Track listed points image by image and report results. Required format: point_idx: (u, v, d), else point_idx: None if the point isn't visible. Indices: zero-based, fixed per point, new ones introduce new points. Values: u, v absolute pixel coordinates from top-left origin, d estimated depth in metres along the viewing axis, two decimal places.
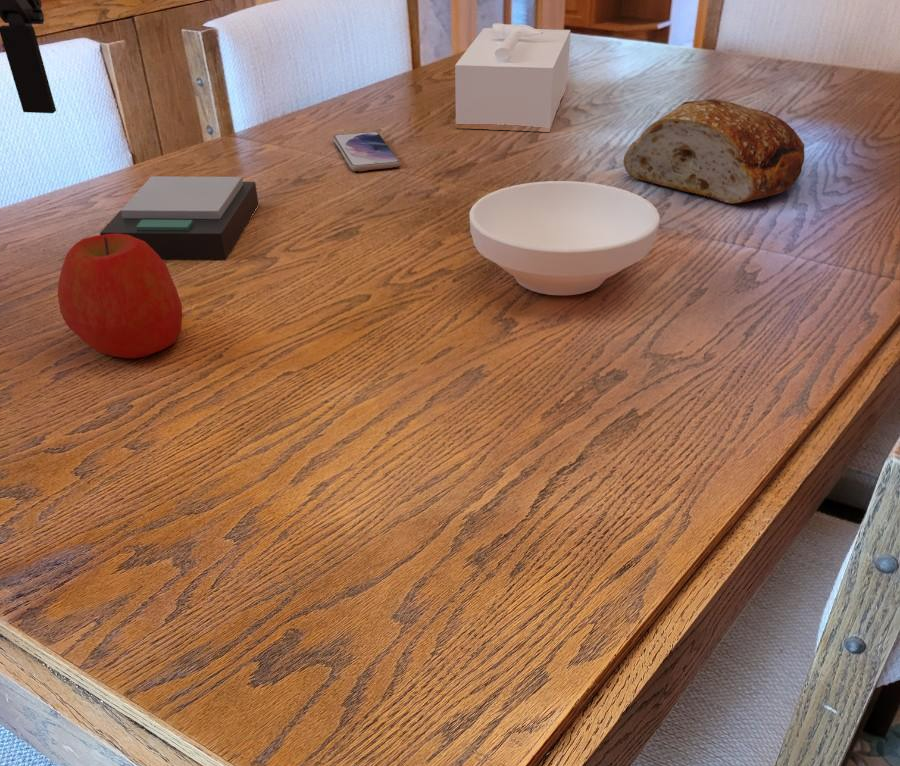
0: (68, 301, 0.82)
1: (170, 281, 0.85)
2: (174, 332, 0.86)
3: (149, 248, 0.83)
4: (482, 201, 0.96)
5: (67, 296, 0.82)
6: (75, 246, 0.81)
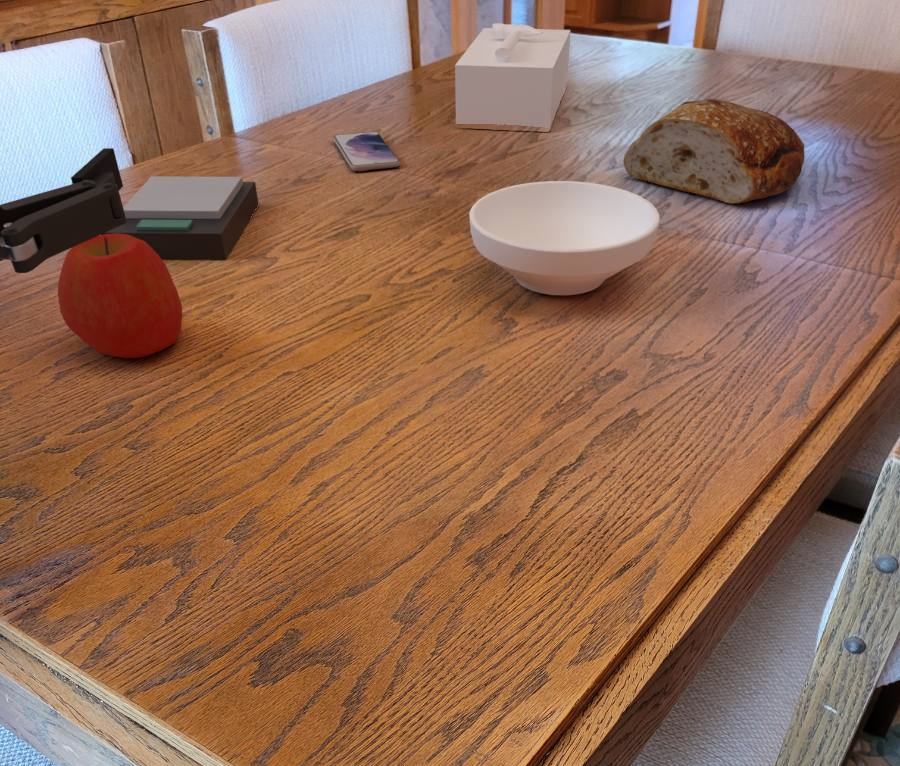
0: (68, 301, 0.82)
1: (170, 281, 0.85)
2: (174, 332, 0.86)
3: (149, 248, 0.83)
4: (482, 201, 0.96)
5: (67, 296, 0.82)
6: (75, 246, 0.81)
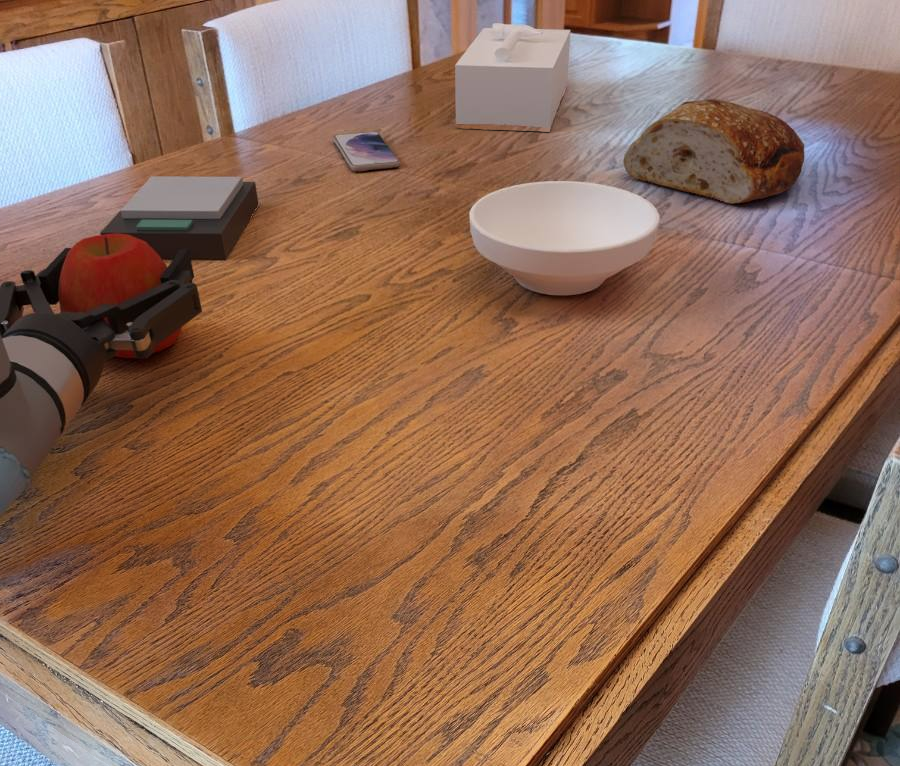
0: (68, 301, 0.82)
1: None
2: (174, 332, 0.86)
3: (149, 248, 0.83)
4: (482, 201, 0.96)
5: (67, 296, 0.82)
6: (75, 246, 0.82)
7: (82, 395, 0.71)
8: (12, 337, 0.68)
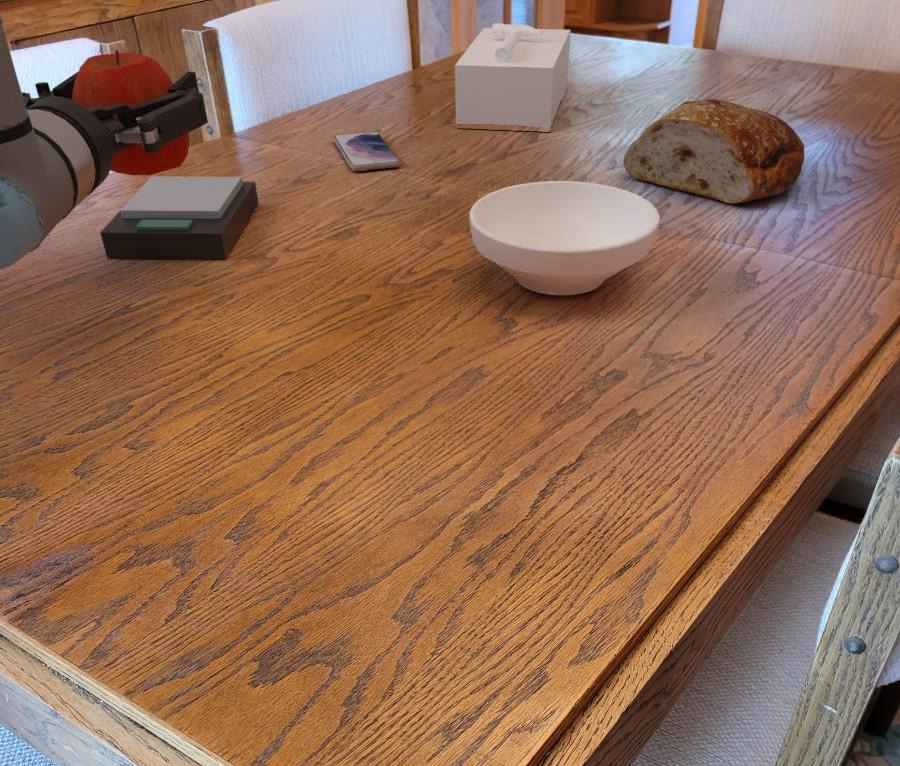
0: None
1: None
2: (181, 150, 0.90)
3: (158, 65, 0.87)
4: (482, 201, 0.96)
5: None
6: (88, 59, 0.85)
7: (93, 175, 0.75)
8: (28, 110, 0.72)
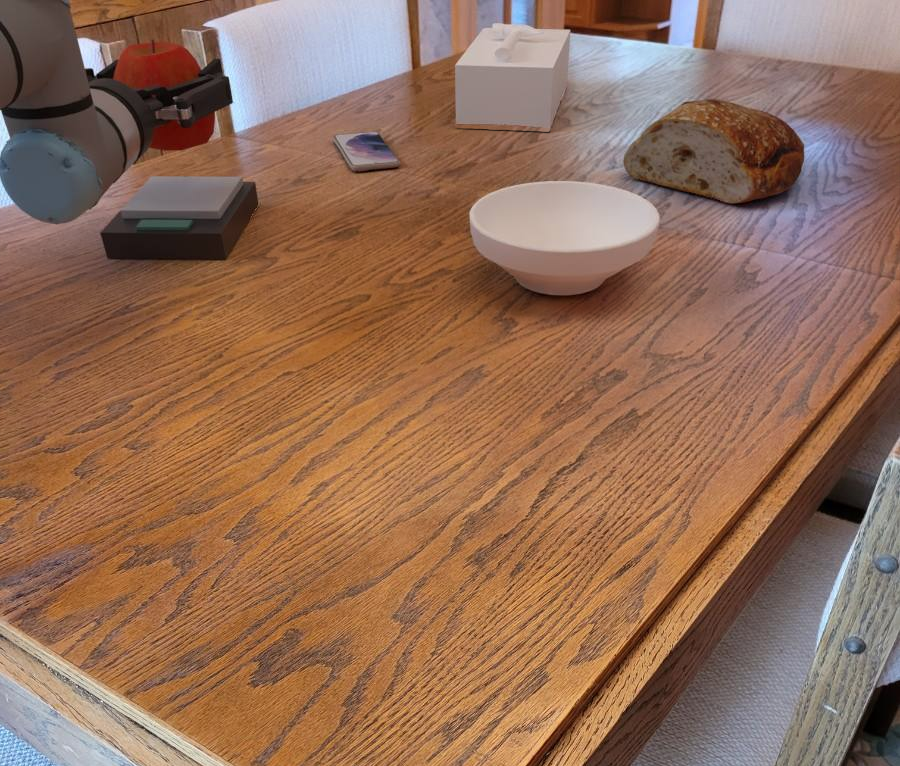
0: None
1: None
2: (208, 128, 1.02)
3: (188, 52, 0.99)
4: (482, 201, 0.96)
5: None
6: (127, 48, 0.97)
7: (139, 145, 0.87)
8: None
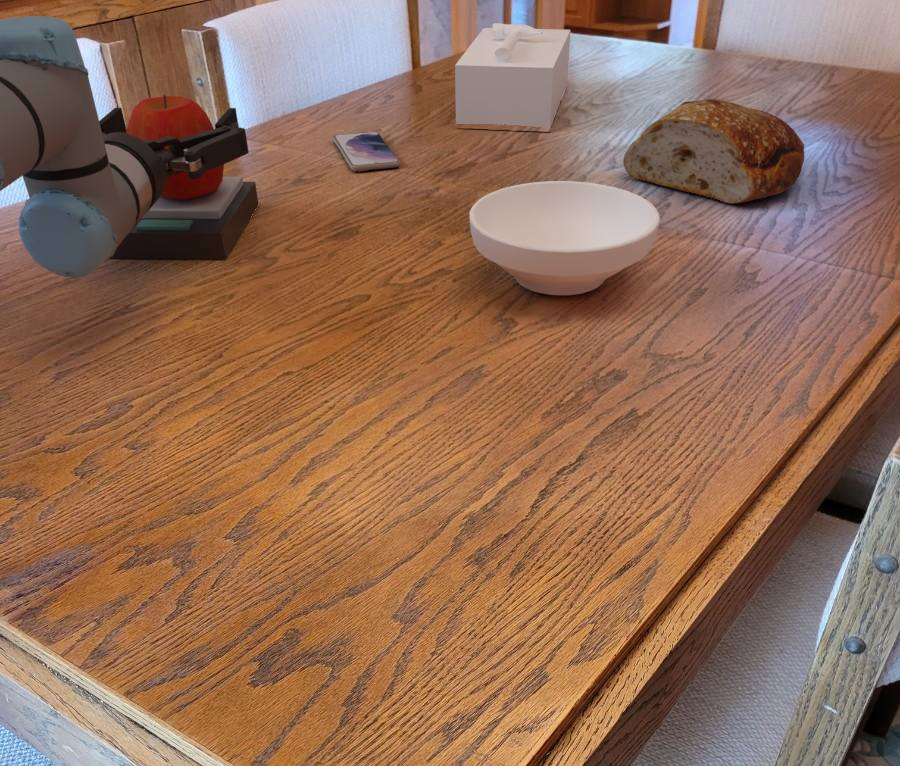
0: None
1: None
2: (217, 178, 1.05)
3: (199, 106, 1.03)
4: (482, 201, 0.96)
5: None
6: (140, 103, 1.01)
7: (151, 197, 0.90)
8: None
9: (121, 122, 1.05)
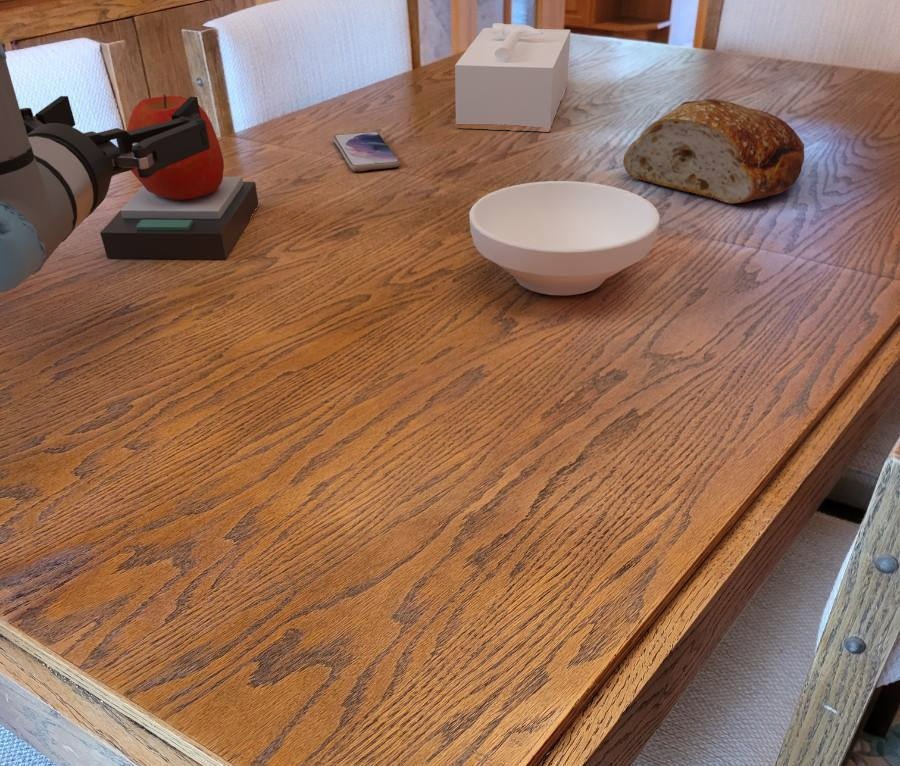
0: None
1: (215, 135, 1.04)
2: (217, 178, 1.05)
3: (199, 106, 1.03)
4: (482, 201, 0.96)
5: None
6: (140, 103, 1.01)
7: (92, 198, 0.78)
8: (29, 137, 0.75)
9: (68, 112, 0.93)
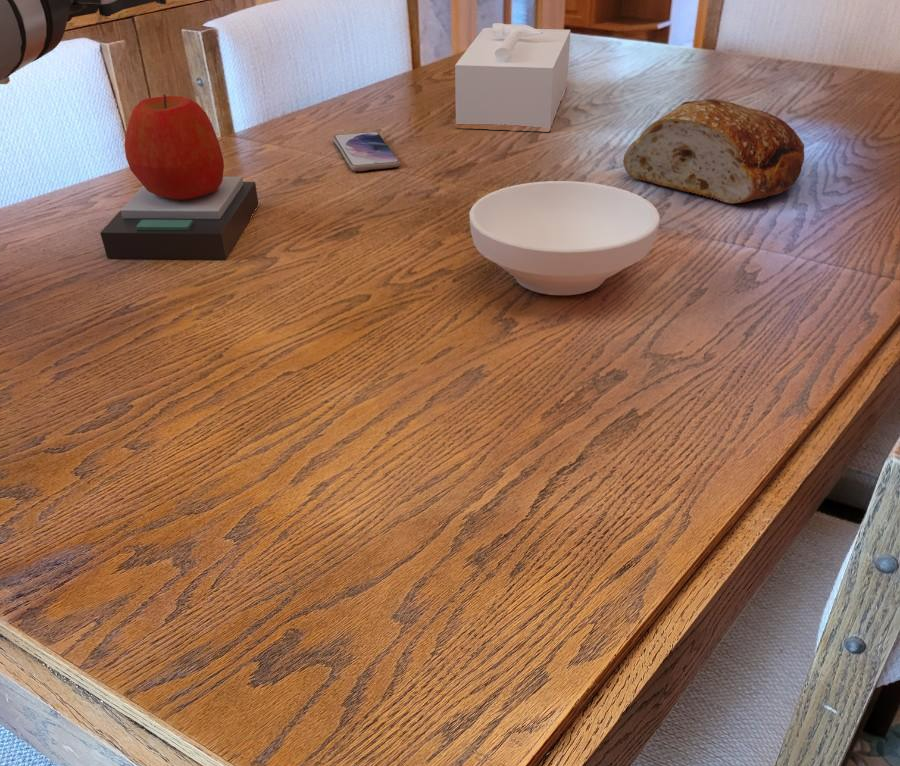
0: (134, 148, 1.01)
1: (215, 135, 1.04)
2: (217, 178, 1.05)
3: (199, 106, 1.03)
4: (482, 201, 0.96)
5: (133, 143, 1.01)
6: (140, 103, 1.01)
7: (45, 29, 0.69)
8: None
9: None
